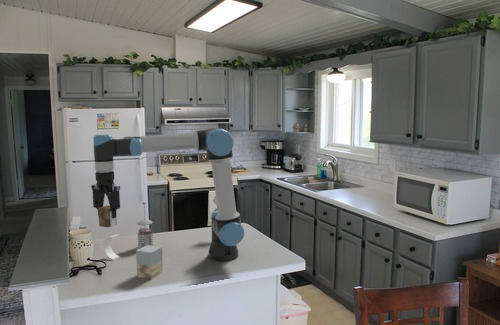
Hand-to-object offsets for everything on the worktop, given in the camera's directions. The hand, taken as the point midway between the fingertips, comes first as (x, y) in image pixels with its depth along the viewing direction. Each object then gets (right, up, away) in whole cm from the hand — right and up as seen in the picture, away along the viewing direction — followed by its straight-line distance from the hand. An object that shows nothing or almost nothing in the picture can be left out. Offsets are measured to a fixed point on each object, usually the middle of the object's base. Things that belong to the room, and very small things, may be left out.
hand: (107, 224), depth 175 cm
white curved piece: (-7, -21, +27) cm, 35 cm away
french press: (+5, -19, +42) cm, 47 cm away
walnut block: (0, 0, 0) cm, 0 cm away
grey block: (+17, -17, +6) cm, 25 cm away
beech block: (+17, -23, +6) cm, 29 cm away
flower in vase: (+46, -17, +60) cm, 78 cm away
